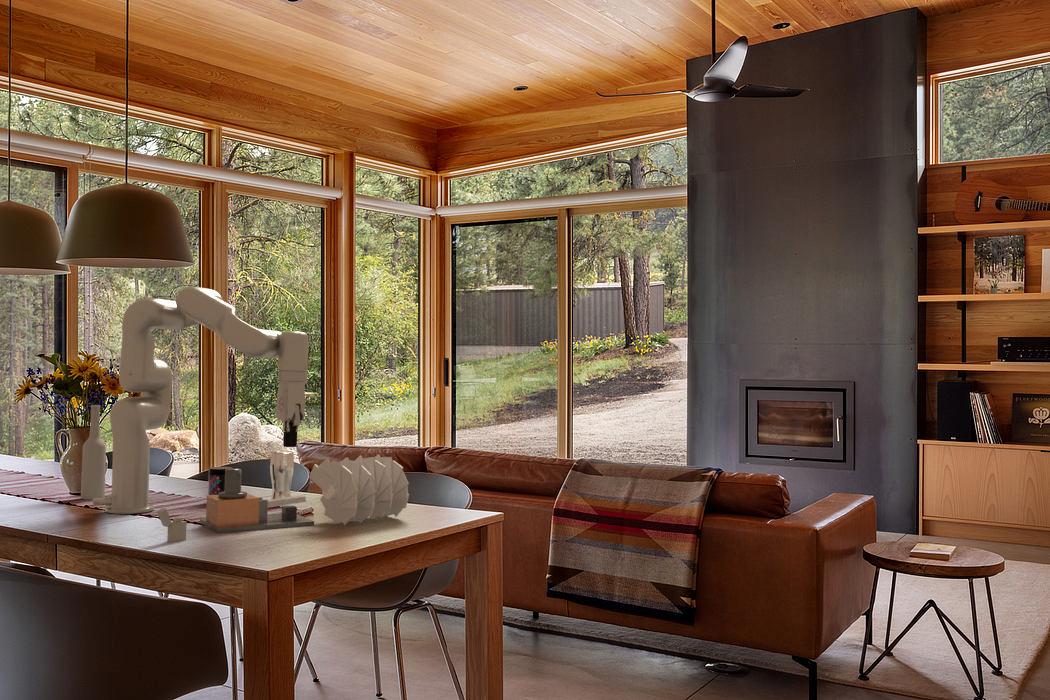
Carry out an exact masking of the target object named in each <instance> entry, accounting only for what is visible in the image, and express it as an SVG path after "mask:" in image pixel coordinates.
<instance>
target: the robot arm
mask: <svg viewBox="0 0 1050 700" xmlns="http://www.w3.org/2000/svg"><path fill="white" fill-rule="evenodd" d="M238 316H239V315H238V310H237V308H236V307H234V306H233V305H231V304H229V303H227V302H226V301H224V300H223V298H222V296H221V294H220V293H219V292H218V291H216V290H214V289H213V288H212V289H211V288H207V287H206V288H205V287H200V286H187V287H185V288H182V289H181V290H180V291H179V292H177V294H176V297H175V300H173V299H172V300H171V299H165V298H155V297H145V298H141V299H138V300H136V301H133V302H132V303H130V304H129V306H128V307H127V308H126V309H125V311H124V314H123V316H122V322H121V330H122V331H121V332H122V333H121V348H120V349H121V350H120V362H119V371H118V373H119V375H118V380H119V385H120V387H121V388H122V389H123V390H124V391H126V392H130V393H140V396H129V397H124V398H121V399H119V400H117V401H116V402H115V403H114V404H113V405H112V407H111V409H110V412H109V421H110V422H109V423H110V427H111V435H112V466H111V467H112V468H111V469H112V470H111V493H109V494H108V496H105V498H94V499H92V506H105V508H104V512H105V513H107V514H114V515H115V514H116V515H121V514H122V515H124V514H126V515H128V514H129V515H132V514H143V513H149V512H153V511H154V510H155V505H154V504H151V503H149V497H150V496H149V495H150V493H149V489H150V462H151V461H150V457H151V455H150V454H151V453H150V450H151V447H150V445H151V444H150V440H149V437H148V433H147V431H150V430H151V431H152V430H157V429H160V428H162V427H163V426H164V425H165V424H166V423H167V421H168V419H169V416H170V411H171V410H170V409H171V399H172V398H171V397H172V385H173V375H172V371H171V368H170V366H169V365H168V364H167V363H166V362H165V361H163V360H162V359H159V358H155V348H156V347H155V346H156V344H155V340H154V339H155V338H154V336H153V333H152V330H165V331H180V330H184V329H188V328H190V327H193V326H196V325H201V326H203V327H205V328H206V329H208V330H211V332H213V333H215V334H217V335H218V337H219V338H220V340H222V342H224V343H225V344H227V345H228V346H230V347H231V348H233V349H235V350H236V351H239V352H240V353H242V354H244V355H246V356H248V357H251V358H260V359H261V358H262V359H278V363H277V365H278V366H277V370H278V371H277V384H278V389H277V396H276V403H275V405H276V407H275V417H276V419H277V420H279V421H281V423H282V424H283V425H282V426H283V428H282V429H283V438H282V439H283V443H282V446H283V447H284V448H297V446H298V433H299V432H298V431H299V426H300V425H301V421H303V420H304V419H305V413H306V391H305V385H306V384H308V363H309V362H308V360H309V359H308V358H309V335H308V334H307V333H306V332H302V331H280V330H279V331H278V330H271V329H262V328H261V329H259V328H256V327H254V326H253V325H250V324H248V323H247V322H245V321H244V320H241V319H240V318H239V317H238Z"/></svg>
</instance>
